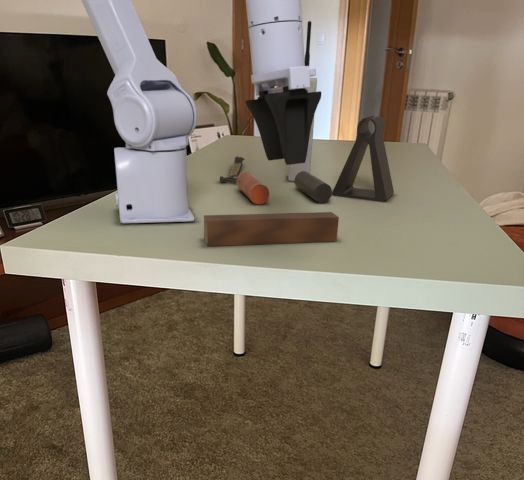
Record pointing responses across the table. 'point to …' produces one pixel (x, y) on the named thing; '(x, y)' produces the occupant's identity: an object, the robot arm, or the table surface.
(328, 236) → the bar
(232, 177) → the tomahawk
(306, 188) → the rods
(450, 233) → the table surface
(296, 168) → the vintage mobile phone
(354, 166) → the dark grey triangle stand
